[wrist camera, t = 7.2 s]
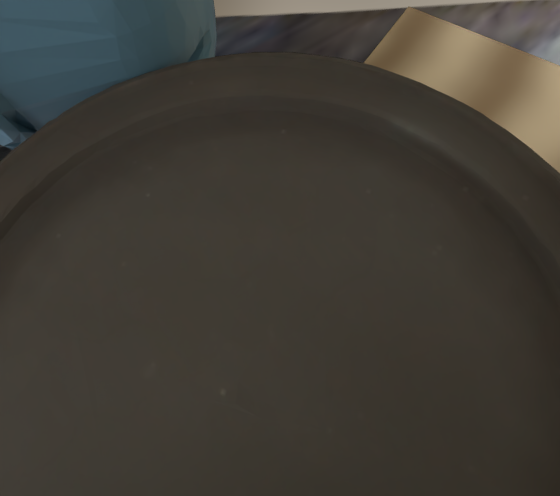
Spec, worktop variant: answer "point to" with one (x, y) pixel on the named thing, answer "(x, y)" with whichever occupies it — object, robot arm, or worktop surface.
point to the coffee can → (278, 291)
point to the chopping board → (478, 76)
